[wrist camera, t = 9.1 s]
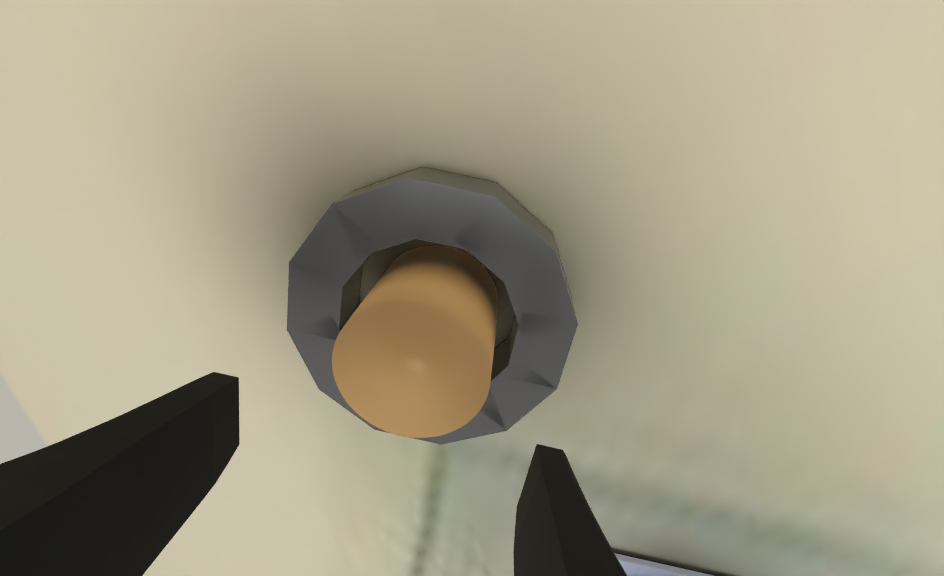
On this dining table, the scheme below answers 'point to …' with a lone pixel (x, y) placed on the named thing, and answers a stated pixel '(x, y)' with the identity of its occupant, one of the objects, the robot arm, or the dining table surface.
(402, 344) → the cap
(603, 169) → the dining table surface
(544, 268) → the barrel ring
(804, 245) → the dining table surface
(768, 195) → the dining table surface
